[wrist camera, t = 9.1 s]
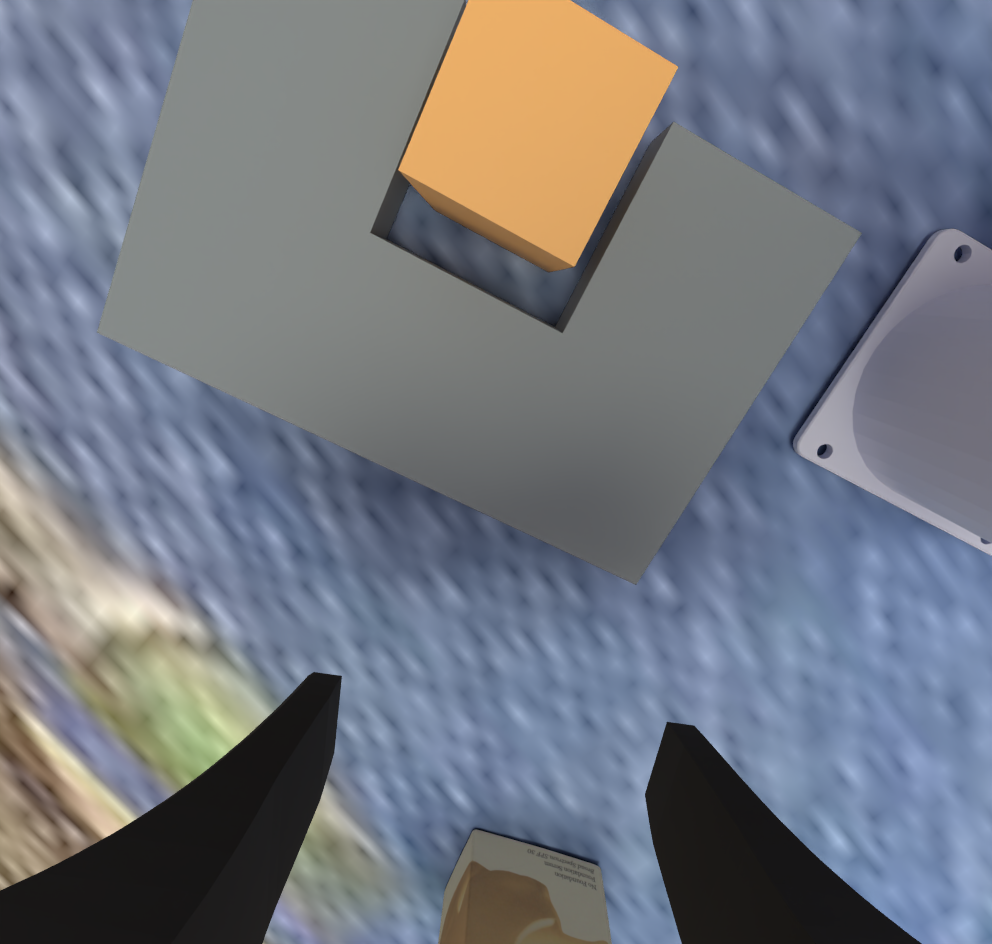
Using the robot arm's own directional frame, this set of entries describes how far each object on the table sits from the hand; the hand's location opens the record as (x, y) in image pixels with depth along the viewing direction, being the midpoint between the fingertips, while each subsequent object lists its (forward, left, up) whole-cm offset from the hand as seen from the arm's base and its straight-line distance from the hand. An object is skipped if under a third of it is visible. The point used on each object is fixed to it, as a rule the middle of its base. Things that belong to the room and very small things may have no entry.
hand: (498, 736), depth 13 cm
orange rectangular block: (+5, -11, -10) cm, 16 cm away
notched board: (+5, -8, -9) cm, 13 cm away
